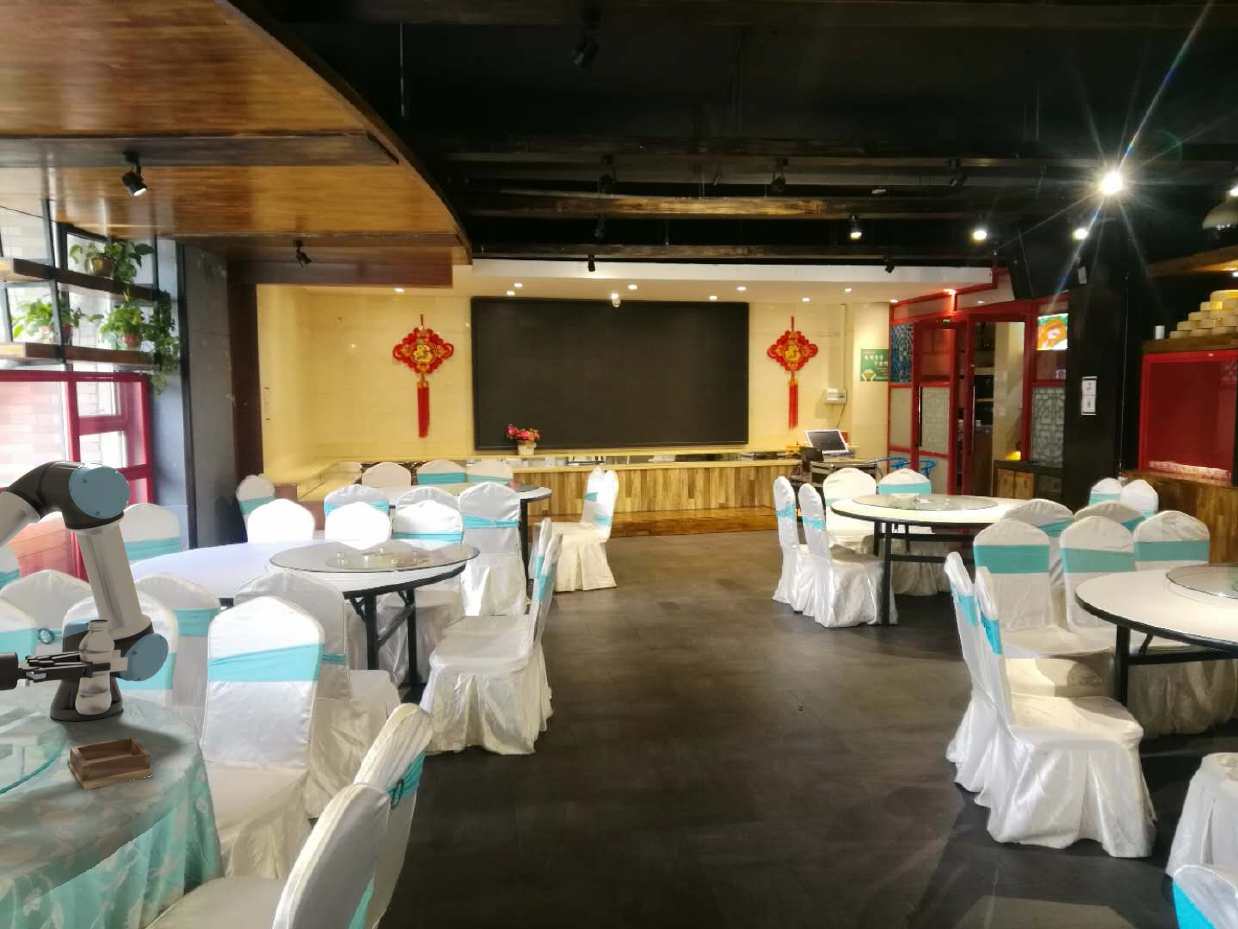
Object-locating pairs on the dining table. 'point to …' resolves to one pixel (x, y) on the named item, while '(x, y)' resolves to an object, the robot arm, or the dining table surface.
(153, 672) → the robot arm
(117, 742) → the open wooden box
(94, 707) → the plastic bottle
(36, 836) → the dining table surface
